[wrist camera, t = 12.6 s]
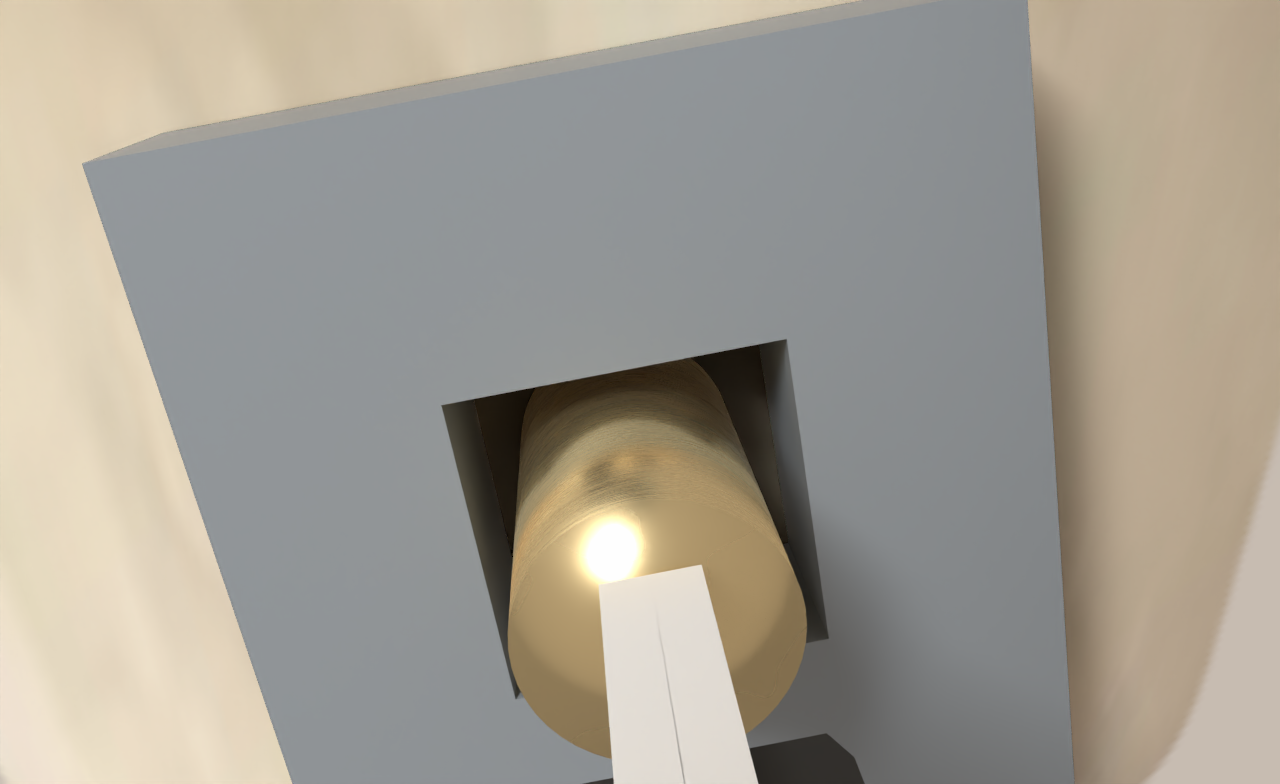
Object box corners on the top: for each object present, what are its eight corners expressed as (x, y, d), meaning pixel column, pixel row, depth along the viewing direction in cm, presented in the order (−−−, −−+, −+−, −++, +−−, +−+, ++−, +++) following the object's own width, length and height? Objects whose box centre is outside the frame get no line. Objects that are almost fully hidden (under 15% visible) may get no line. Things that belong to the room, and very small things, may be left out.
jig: (163, 132, 22) (81, 163, 18) (944, -16, 22) (1026, -16, 18) (376, 816, 27) (348, 949, 23) (1003, 693, 27) (1076, 806, 24)
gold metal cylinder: (500, 361, 24) (476, 535, 16) (710, 318, 24) (783, 472, 16) (545, 549, 25) (543, 789, 18) (744, 509, 25) (825, 731, 18)
